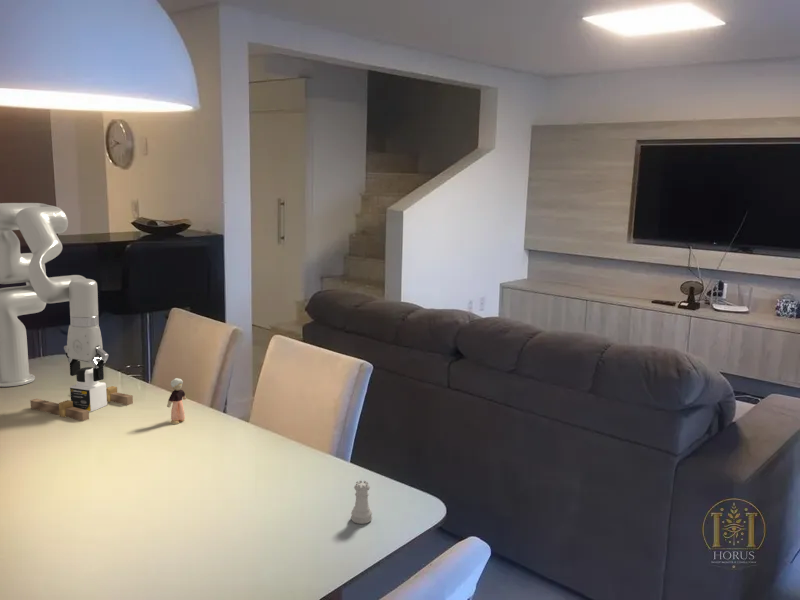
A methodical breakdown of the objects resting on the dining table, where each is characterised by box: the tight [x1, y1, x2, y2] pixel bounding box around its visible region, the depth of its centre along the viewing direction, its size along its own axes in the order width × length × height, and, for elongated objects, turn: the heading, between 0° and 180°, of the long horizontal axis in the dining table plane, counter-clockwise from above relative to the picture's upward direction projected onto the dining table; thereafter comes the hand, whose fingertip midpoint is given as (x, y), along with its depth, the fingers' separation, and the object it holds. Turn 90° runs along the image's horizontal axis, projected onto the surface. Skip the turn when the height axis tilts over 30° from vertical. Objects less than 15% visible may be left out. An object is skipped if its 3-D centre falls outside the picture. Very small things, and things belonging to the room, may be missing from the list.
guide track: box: [30, 385, 134, 422], centre depth 207 cm, size 22×19×4 cm
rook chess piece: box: [350, 479, 373, 525], centre depth 141 cm, size 4×4×8 cm
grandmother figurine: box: [166, 377, 187, 425], centre depth 195 cm, size 8×4×13 cm, turn 171°
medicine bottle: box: [69, 366, 108, 413], centre depth 205 cm, size 7×7×12 cm
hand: (86, 377), depth 205 cm, fingers open, 9 cm apart
